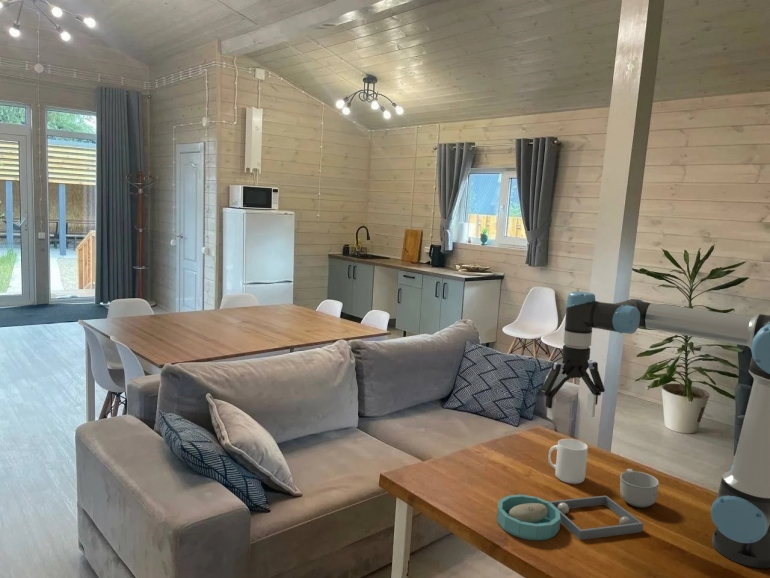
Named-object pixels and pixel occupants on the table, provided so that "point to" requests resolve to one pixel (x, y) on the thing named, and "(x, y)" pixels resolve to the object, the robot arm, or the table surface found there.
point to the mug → (570, 460)
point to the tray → (601, 531)
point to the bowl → (524, 529)
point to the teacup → (638, 488)
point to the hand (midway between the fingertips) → (570, 417)
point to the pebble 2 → (624, 520)
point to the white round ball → (563, 508)
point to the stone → (529, 512)
